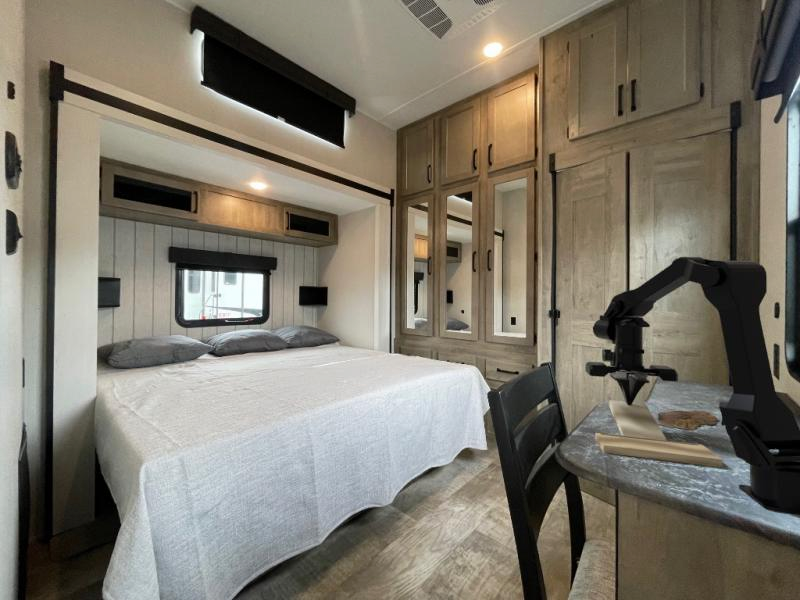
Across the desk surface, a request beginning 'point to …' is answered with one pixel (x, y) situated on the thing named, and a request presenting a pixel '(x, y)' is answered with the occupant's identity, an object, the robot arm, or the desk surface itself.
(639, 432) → the birch plank
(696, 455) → the oak floor board
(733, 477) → the desk surface
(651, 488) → the desk surface
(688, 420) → the wooden fragment
